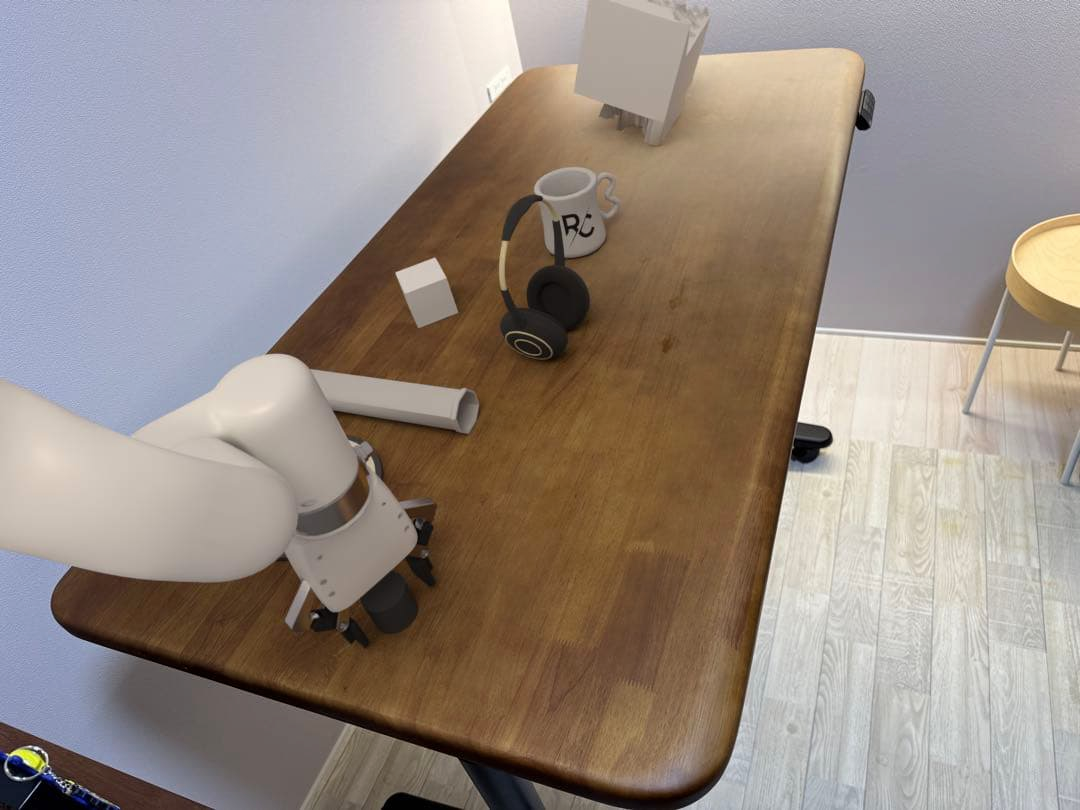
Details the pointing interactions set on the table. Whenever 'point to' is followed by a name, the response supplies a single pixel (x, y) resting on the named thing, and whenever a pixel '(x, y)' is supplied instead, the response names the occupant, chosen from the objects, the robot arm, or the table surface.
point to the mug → (575, 208)
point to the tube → (400, 400)
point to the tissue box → (640, 61)
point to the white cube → (427, 292)
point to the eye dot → (390, 604)
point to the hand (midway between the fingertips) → (392, 606)
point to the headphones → (542, 295)
